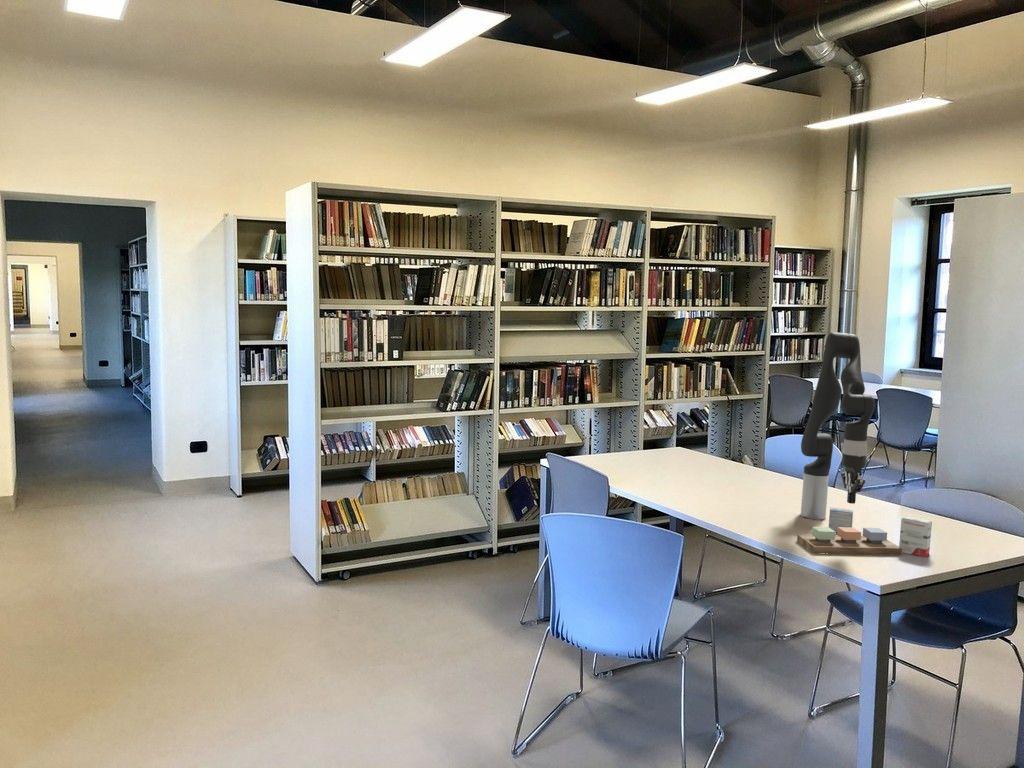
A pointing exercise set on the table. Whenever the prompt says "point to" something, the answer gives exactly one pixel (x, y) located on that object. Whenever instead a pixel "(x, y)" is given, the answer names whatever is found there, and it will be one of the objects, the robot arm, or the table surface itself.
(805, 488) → the robot arm
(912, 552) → the ink box
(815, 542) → the button board
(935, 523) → the table surface
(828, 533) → the sage button
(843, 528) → the terracotta button
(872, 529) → the slate button
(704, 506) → the table surface
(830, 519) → the medicine box
